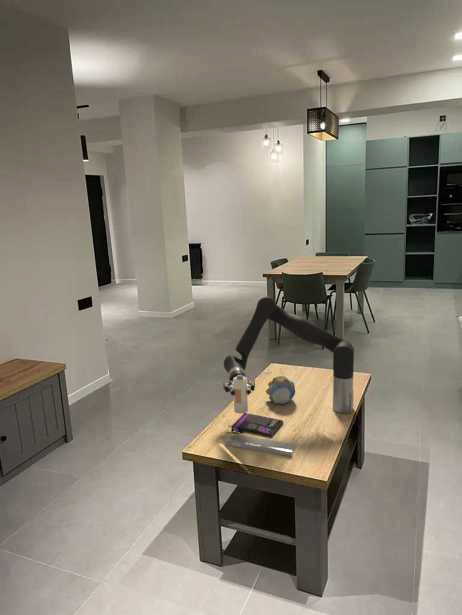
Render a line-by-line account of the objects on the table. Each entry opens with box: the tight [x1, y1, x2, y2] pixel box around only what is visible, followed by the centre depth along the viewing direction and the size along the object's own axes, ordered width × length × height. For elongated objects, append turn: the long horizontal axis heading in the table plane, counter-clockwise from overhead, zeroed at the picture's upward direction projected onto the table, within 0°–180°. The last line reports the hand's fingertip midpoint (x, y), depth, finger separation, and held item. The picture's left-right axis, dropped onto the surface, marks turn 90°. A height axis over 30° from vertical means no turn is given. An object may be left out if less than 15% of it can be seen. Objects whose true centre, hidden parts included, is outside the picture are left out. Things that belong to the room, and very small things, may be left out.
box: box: [230, 412, 284, 438], centre depth 206 cm, size 14×4×20 cm
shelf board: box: [226, 433, 298, 458], centre depth 190 cm, size 28×10×1 cm, turn 68°
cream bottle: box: [233, 375, 249, 415], centre depth 188 cm, size 6×6×15 cm
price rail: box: [224, 438, 293, 457], centre depth 186 cm, size 28×1×2 cm, turn 68°
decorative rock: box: [265, 375, 296, 405], centre depth 232 cm, size 14×16×15 cm
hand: (241, 393), depth 186 cm, fingers closed on cream bottle, 5 cm apart
